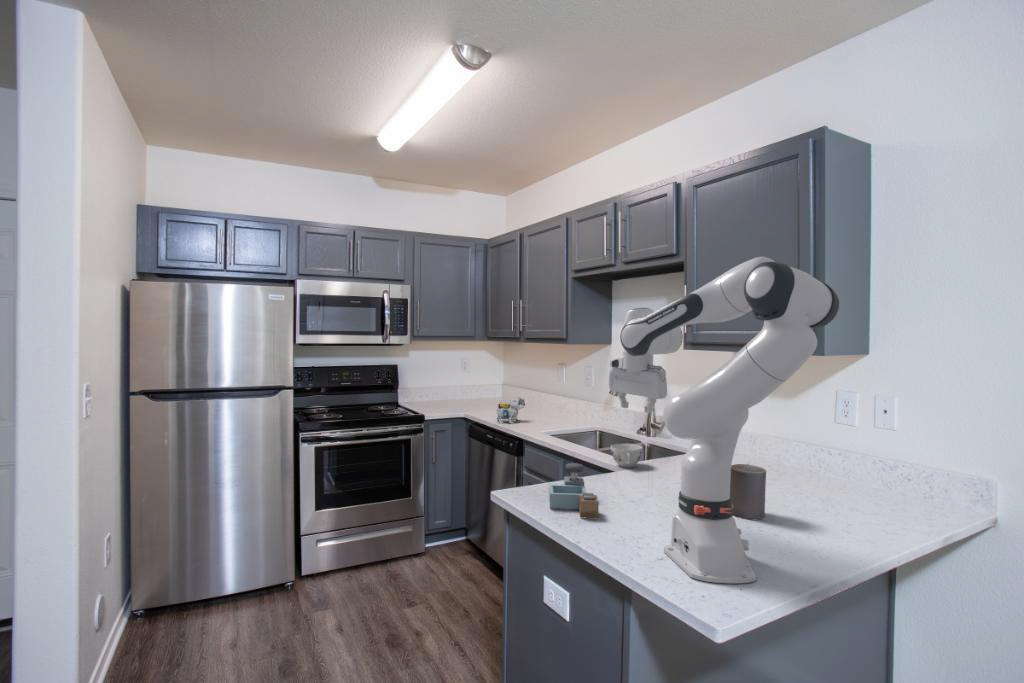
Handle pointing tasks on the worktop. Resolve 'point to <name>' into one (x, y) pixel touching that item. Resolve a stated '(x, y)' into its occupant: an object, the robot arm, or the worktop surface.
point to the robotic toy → (510, 410)
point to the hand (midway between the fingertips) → (636, 410)
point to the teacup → (626, 454)
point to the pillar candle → (748, 491)
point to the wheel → (574, 469)
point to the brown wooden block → (588, 505)
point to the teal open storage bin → (566, 493)
